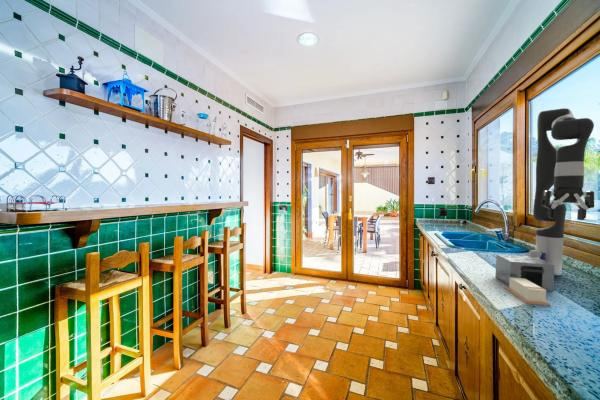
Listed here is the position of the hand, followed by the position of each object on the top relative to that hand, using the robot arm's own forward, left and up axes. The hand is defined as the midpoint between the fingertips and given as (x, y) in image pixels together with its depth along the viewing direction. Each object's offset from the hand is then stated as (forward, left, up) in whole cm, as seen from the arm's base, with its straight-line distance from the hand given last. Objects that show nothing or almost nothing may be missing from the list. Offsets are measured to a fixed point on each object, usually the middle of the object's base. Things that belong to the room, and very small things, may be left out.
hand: (566, 219), depth 94 cm
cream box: (+6, -14, -27) cm, 31 cm away
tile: (+6, -14, -28) cm, 32 cm away
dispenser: (-9, -8, -28) cm, 31 cm away
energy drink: (-19, +2, -28) cm, 34 cm away
